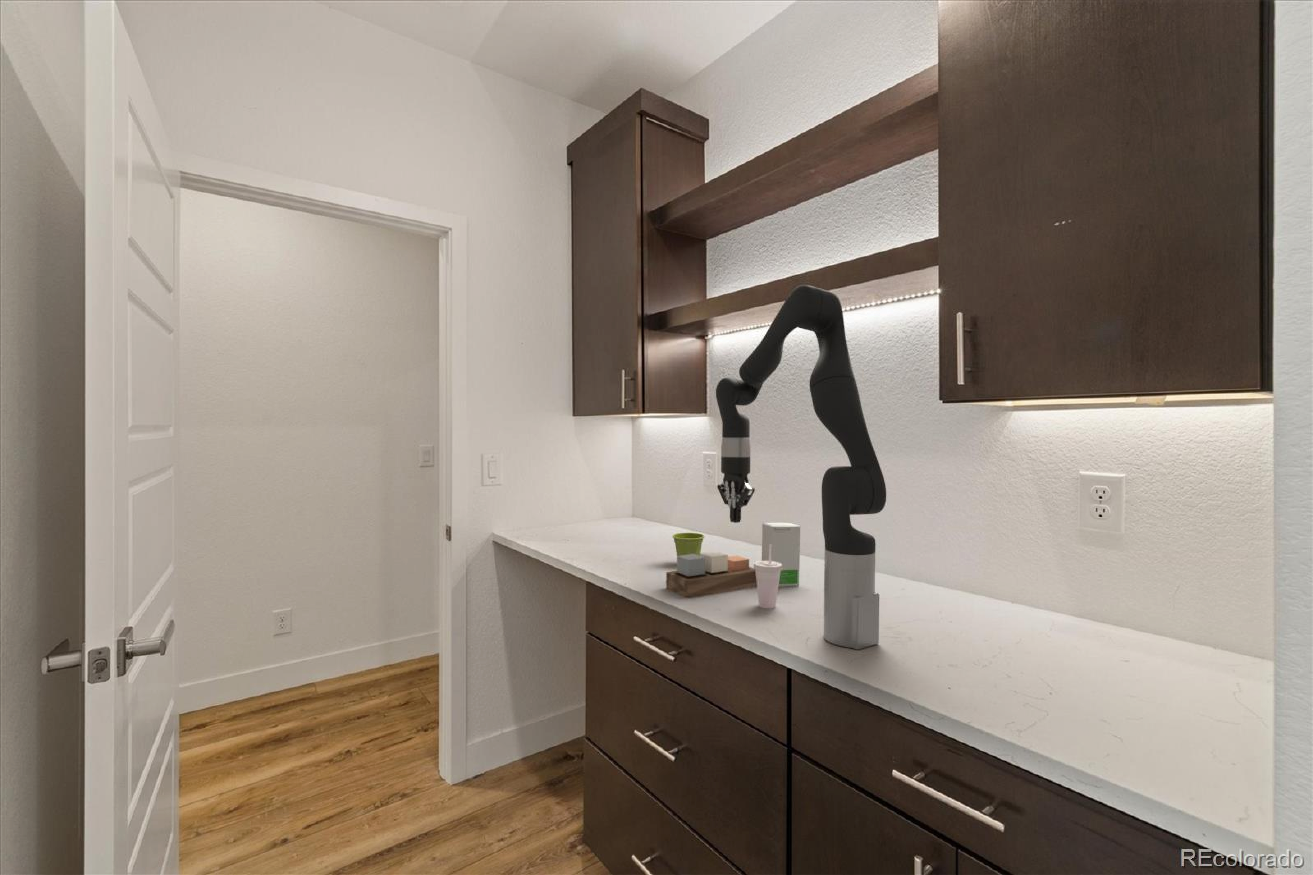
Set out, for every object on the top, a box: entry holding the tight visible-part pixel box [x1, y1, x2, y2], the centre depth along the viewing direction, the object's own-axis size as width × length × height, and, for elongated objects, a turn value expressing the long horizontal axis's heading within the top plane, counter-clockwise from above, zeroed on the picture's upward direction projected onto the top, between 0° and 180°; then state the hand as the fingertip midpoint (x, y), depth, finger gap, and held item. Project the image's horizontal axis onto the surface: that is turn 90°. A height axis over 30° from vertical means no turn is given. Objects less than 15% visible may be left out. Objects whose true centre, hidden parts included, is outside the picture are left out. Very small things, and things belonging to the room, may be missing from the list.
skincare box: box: [761, 522, 801, 588], centre depth 154 cm, size 8×7×16 cm
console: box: [665, 566, 757, 599], centre depth 150 cm, size 10×22×4 cm, turn 121°
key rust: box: [728, 555, 750, 572], centre depth 154 cm, size 5×5×4 cm
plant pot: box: [671, 532, 705, 557], centre depth 174 cm, size 9×9×9 cm
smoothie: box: [753, 545, 782, 610], centre depth 134 cm, size 6×6×14 cm
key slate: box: [676, 554, 705, 576], centre depth 146 cm, size 5×5×4 cm
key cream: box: [700, 550, 729, 573], centre depth 150 cm, size 5×5×4 cm
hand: (735, 522), depth 153 cm, fingers closed
